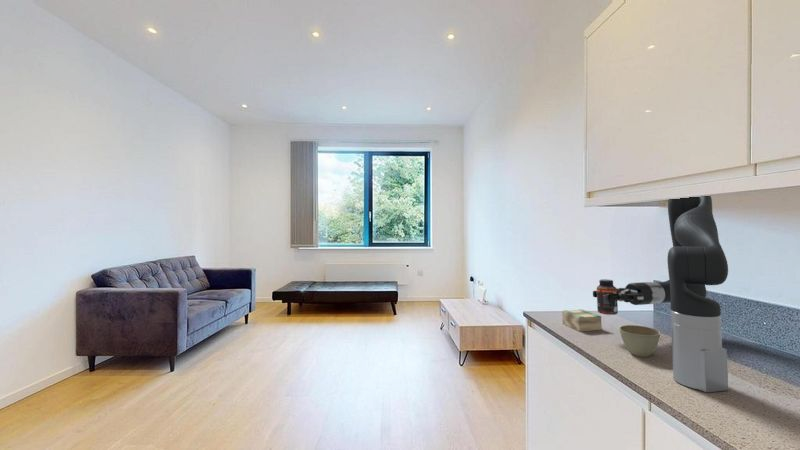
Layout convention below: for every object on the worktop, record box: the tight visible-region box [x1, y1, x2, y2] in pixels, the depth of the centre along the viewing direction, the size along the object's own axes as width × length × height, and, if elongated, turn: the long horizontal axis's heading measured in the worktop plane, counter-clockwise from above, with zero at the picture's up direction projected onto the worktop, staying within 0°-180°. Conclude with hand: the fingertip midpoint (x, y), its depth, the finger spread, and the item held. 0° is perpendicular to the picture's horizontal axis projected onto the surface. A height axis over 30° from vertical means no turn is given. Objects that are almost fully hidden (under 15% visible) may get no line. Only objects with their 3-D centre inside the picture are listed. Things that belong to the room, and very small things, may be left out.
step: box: [561, 309, 603, 332], centre depth 129 cm, size 10×9×5 cm
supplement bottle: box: [596, 279, 619, 316], centre depth 115 cm, size 6×6×11 cm
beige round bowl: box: [618, 324, 661, 358], centre depth 101 cm, size 10×10×7 cm
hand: (600, 295), depth 115 cm, fingers closed on supplement bottle, 6 cm apart
